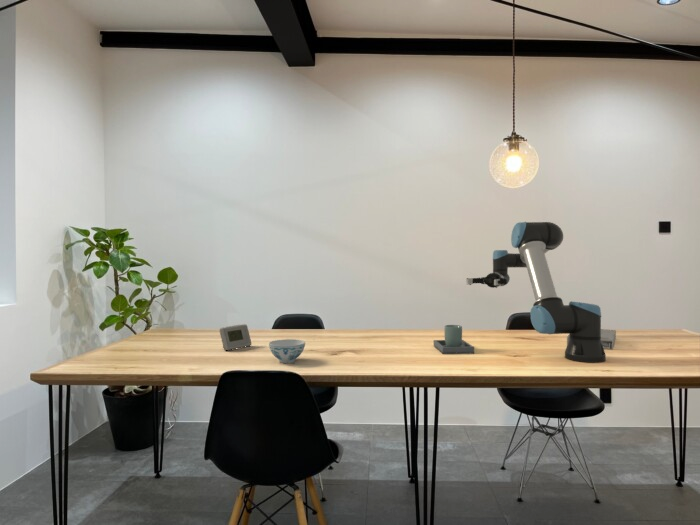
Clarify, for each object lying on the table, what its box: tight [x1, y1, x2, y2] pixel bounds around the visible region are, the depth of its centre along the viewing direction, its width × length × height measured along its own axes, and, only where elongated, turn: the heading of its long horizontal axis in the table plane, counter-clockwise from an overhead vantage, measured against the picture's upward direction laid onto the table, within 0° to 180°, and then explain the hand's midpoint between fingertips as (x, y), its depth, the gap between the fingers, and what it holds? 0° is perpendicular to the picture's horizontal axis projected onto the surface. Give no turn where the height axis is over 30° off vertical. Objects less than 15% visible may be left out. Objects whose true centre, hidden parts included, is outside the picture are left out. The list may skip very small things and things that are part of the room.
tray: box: [433, 339, 475, 355], centre depth 216 cm, size 18×14×3 cm
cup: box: [444, 324, 463, 347], centre depth 216 cm, size 8×8×10 cm
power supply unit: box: [566, 328, 617, 351], centre depth 231 cm, size 19×33×5 cm, turn 148°
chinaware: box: [268, 338, 306, 364], centre depth 196 cm, size 15×15×8 cm
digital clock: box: [219, 323, 252, 351], centre depth 224 cm, size 16×9×11 cm, turn 132°
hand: (480, 282), depth 228 cm, fingers open, 13 cm apart
